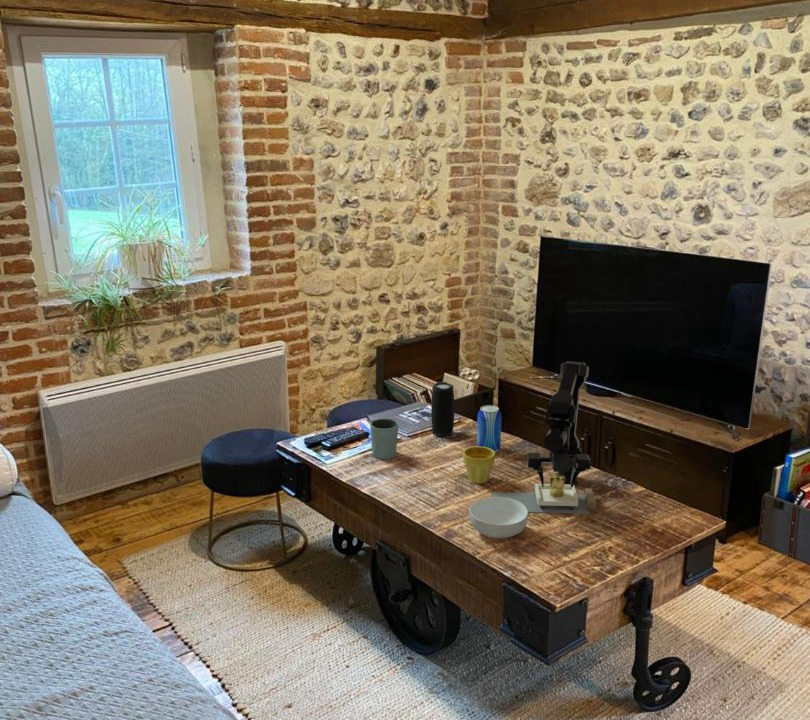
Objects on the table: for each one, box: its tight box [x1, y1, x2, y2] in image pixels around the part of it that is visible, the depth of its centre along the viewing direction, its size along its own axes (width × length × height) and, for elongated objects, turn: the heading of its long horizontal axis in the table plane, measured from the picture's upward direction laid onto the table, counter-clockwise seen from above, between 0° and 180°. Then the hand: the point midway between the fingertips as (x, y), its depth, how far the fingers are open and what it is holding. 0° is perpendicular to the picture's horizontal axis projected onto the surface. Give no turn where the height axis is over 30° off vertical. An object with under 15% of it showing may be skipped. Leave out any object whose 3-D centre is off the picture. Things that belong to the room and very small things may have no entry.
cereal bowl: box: [468, 496, 529, 539], centre depth 230 cm, size 17×17×7 cm
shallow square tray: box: [534, 483, 578, 510], centre depth 248 cm, size 10×12×4 cm
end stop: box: [584, 487, 597, 513], centre depth 247 cm, size 10×2×3 cm, turn 176°
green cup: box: [369, 417, 399, 460], centre depth 284 cm, size 10×10×12 cm
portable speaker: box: [430, 381, 455, 438], centre depth 302 cm, size 9×9×20 cm
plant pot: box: [462, 445, 496, 485], centre depth 264 cm, size 10×10×10 cm
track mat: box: [491, 491, 591, 515], centre depth 249 cm, size 13×29×1 cm, turn 86°
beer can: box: [476, 404, 502, 454], centre depth 287 cm, size 8×8×16 cm
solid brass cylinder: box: [549, 472, 566, 497], centre depth 246 cm, size 4×4×6 cm
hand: (557, 486), depth 247 cm, fingers open, 8 cm apart
